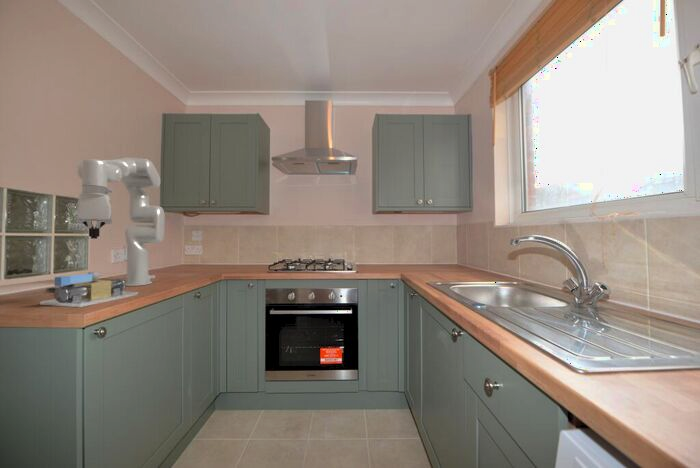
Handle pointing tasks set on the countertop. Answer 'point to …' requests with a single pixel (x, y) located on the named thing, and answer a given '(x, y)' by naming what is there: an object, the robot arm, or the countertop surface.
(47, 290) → the valve
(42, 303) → the pipe valve
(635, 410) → the countertop surface
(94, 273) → the lever
